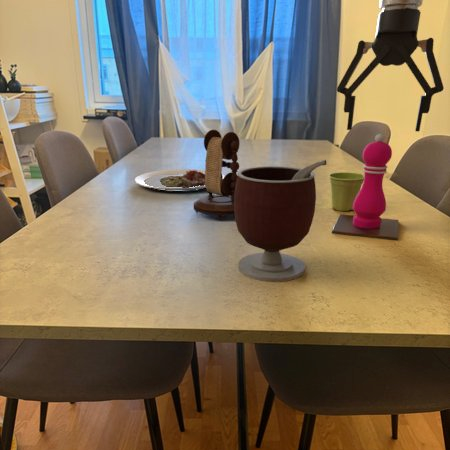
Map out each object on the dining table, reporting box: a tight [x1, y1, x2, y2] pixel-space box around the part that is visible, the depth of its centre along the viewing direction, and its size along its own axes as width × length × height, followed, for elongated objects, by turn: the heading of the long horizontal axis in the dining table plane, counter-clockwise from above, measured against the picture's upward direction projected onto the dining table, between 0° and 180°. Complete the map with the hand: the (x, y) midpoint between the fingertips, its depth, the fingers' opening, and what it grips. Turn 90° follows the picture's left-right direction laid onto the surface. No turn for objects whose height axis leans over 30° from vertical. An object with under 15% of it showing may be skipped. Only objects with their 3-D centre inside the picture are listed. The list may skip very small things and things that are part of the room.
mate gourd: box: [234, 159, 327, 283], centre depth 75 cm, size 16×14×20 cm
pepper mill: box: [352, 133, 393, 229], centre depth 96 cm, size 7×7×20 cm
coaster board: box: [331, 213, 399, 241], centre depth 101 cm, size 14×14×1 cm
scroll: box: [193, 129, 241, 221], centre depth 107 cm, size 15×15×20 cm
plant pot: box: [328, 171, 364, 212], centre depth 114 cm, size 9×9×9 cm
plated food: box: [134, 168, 226, 191], centre depth 142 cm, size 30×30×3 cm
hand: (382, 130), depth 91 cm, fingers open, 13 cm apart
